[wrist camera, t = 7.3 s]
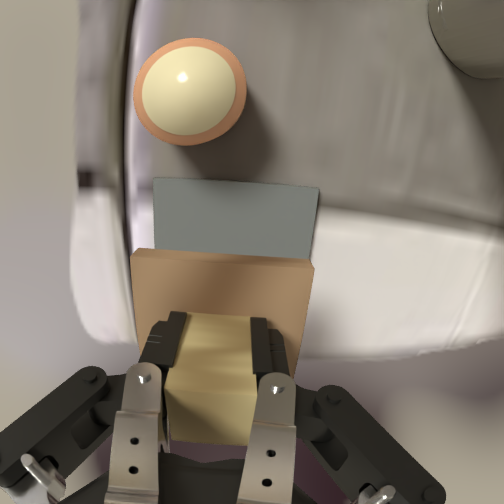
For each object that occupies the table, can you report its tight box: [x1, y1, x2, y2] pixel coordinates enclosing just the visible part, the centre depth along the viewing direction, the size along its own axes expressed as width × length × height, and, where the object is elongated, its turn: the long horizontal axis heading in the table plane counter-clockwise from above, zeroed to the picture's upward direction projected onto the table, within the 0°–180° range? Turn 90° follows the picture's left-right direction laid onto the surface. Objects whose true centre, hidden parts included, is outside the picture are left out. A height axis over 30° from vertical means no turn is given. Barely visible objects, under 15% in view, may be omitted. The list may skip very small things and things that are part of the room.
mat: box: [153, 178, 319, 259], centre depth 23 cm, size 12×10×1 cm
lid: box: [130, 248, 315, 445], centre depth 12 cm, size 8×8×6 cm
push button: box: [133, 38, 246, 146], centre depth 17 cm, size 7×7×4 cm
